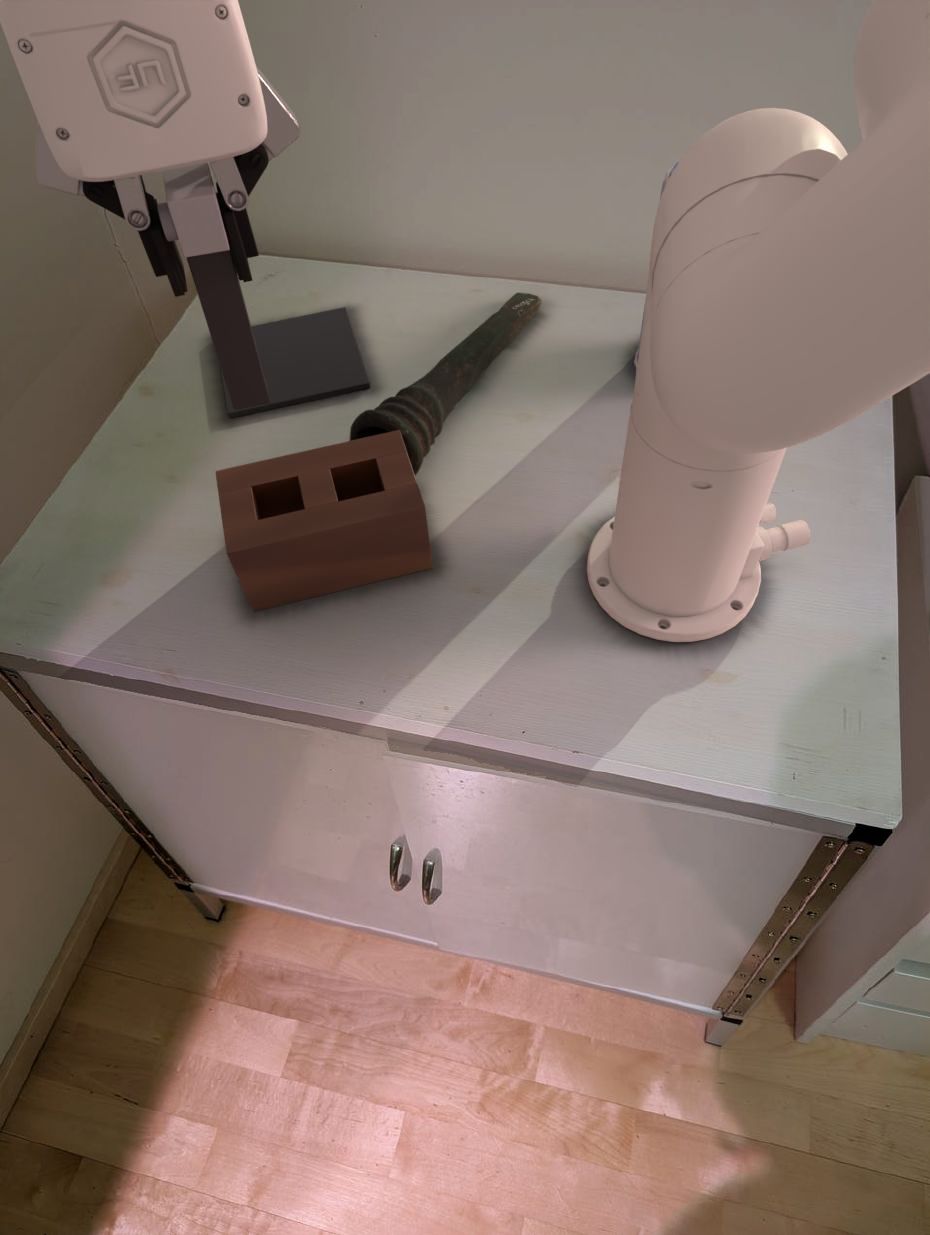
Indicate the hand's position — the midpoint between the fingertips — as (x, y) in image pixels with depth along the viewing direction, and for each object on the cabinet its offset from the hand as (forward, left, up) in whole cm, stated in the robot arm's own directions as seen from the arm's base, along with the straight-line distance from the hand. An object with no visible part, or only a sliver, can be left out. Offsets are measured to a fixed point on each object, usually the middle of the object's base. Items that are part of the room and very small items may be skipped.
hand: (211, 272), depth 47 cm
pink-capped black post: (0, 0, -9) cm, 9 cm away
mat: (-3, -22, -23) cm, 32 cm away
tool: (-17, -14, -24) cm, 32 cm away
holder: (-3, +2, -23) cm, 24 cm away
